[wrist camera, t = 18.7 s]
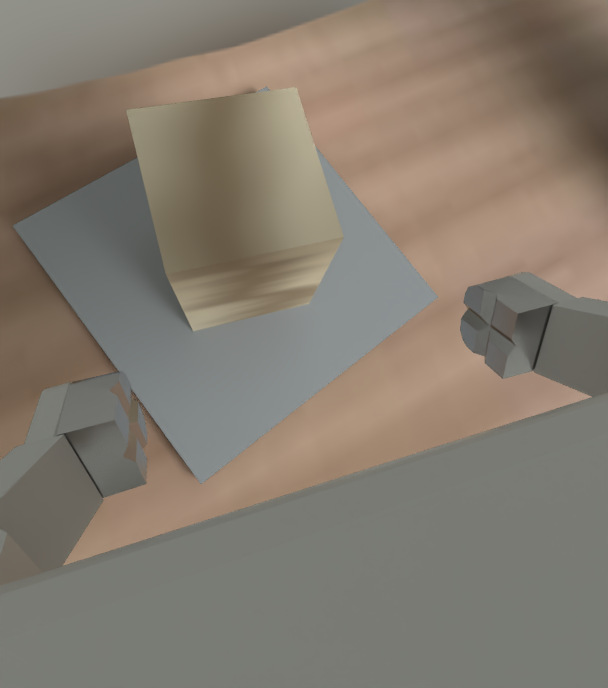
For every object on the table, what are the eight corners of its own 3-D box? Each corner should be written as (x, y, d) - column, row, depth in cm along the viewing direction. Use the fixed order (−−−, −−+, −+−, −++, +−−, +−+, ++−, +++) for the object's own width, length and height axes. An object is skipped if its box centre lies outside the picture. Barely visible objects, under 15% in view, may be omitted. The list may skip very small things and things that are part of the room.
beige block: (278, 200, 24) (296, 86, 16) (309, 303, 23) (343, 236, 15) (166, 221, 22) (126, 110, 15) (193, 331, 21) (166, 274, 14)
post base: (265, 99, 26) (273, -1, 20) (430, 302, 25) (490, 260, 19) (22, 234, 22) (-59, 161, 16) (202, 481, 21) (187, 501, 15)
